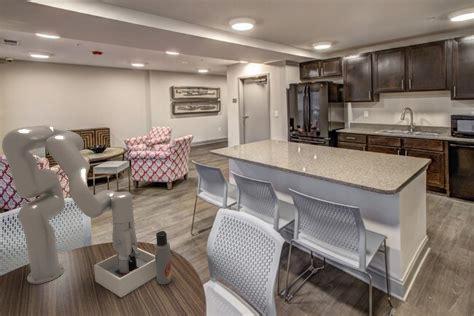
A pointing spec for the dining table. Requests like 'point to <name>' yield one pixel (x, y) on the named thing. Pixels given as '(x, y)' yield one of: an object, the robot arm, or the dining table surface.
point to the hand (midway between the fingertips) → (127, 266)
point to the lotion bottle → (163, 258)
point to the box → (120, 285)
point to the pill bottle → (124, 264)
